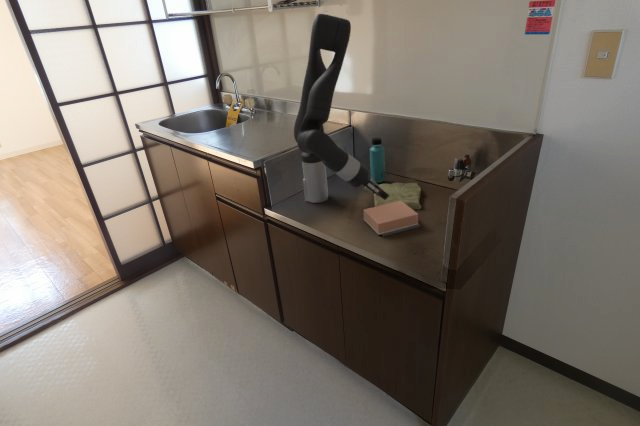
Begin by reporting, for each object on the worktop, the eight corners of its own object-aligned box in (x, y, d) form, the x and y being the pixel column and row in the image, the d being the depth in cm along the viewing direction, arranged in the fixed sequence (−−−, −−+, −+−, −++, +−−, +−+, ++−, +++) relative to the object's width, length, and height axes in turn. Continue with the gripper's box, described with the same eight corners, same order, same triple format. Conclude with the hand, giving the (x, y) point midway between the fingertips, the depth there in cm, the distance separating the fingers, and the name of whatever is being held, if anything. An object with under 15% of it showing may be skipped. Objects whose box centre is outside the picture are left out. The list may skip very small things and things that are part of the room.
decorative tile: (374, 212, 146) (374, 204, 144) (373, 190, 163) (373, 182, 162) (425, 210, 143) (425, 202, 142) (418, 188, 161) (418, 180, 159)
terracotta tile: (378, 224, 127) (418, 214, 130) (363, 209, 137) (400, 200, 141) (378, 234, 129) (418, 224, 132) (363, 219, 139) (400, 210, 143)
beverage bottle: (382, 186, 165) (380, 141, 156) (368, 184, 168) (366, 140, 159) (388, 180, 170) (387, 136, 160) (374, 178, 173) (372, 135, 164)
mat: (382, 236, 129) (382, 234, 129) (366, 219, 140) (366, 217, 140) (419, 226, 132) (419, 224, 132) (401, 211, 143) (401, 209, 143)
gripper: (366, 167, 116) (402, 195, 124) (350, 155, 127) (384, 181, 136) (351, 187, 117) (388, 213, 126) (336, 173, 128) (371, 198, 137)
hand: (386, 196), depth 131 cm, fingers closed
